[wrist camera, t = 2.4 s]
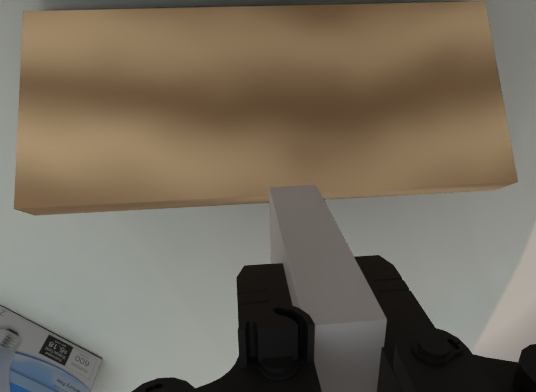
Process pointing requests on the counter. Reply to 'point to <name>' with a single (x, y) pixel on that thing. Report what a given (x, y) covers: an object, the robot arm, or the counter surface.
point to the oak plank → (256, 105)
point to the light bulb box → (41, 359)
